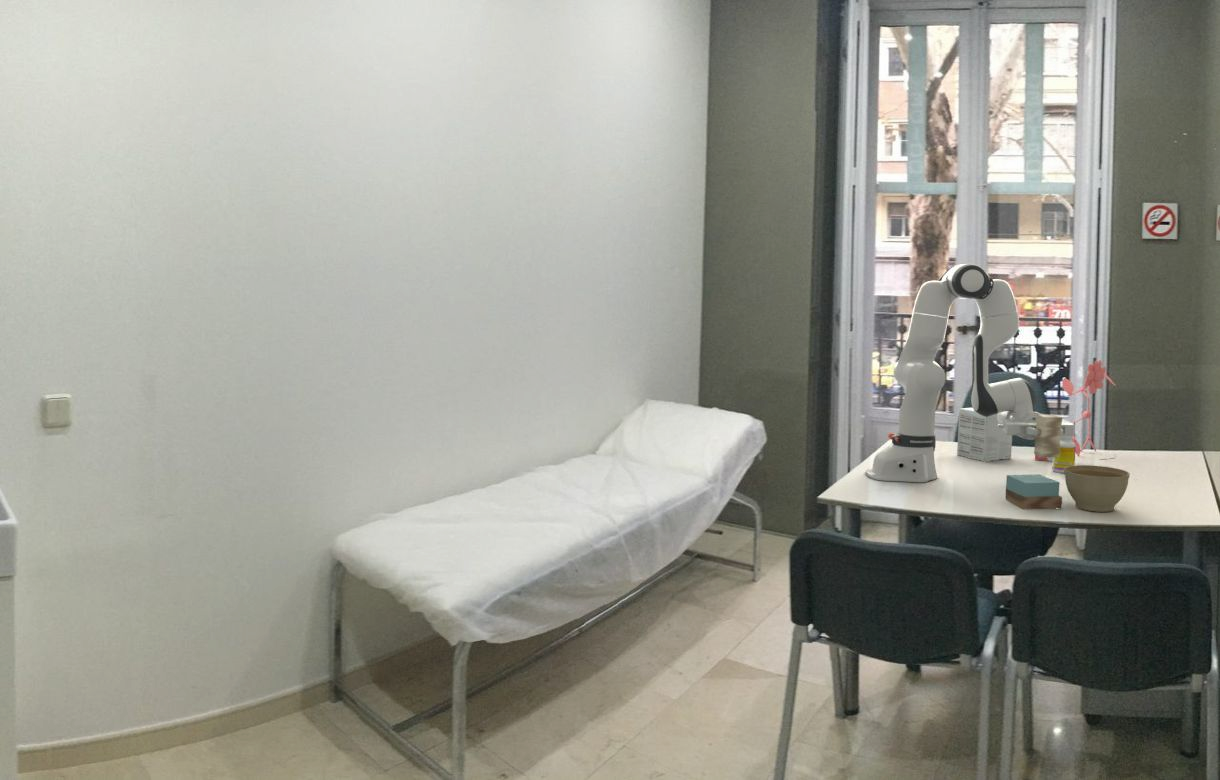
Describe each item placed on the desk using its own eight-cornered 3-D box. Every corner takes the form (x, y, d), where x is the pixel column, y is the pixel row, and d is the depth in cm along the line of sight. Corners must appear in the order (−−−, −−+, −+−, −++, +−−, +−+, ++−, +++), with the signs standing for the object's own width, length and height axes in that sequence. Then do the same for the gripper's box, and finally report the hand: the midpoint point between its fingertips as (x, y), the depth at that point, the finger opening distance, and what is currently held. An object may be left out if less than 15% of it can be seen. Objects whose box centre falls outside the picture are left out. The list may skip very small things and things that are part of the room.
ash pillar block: (1041, 457, 262) (1044, 417, 261) (1034, 453, 267) (1037, 414, 266) (1058, 457, 262) (1062, 417, 261) (1050, 454, 267) (1054, 414, 266)
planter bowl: (1099, 500, 260) (1102, 463, 259) (1140, 514, 245) (1143, 475, 243) (1049, 502, 258) (1052, 465, 257) (1087, 517, 242) (1090, 478, 241)
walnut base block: (1022, 510, 251) (1022, 497, 250) (1005, 501, 261) (1006, 487, 261) (1061, 511, 250) (1062, 497, 250) (1042, 501, 261) (1043, 487, 261)
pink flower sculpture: (1049, 455, 325) (1057, 360, 320) (1091, 448, 338) (1099, 357, 333) (1090, 463, 312) (1099, 364, 307) (1132, 456, 325) (1141, 361, 320)
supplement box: (983, 452, 331) (985, 405, 329) (1011, 458, 319) (1014, 410, 317) (956, 455, 326) (958, 408, 324) (984, 462, 314) (986, 413, 312)
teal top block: (1025, 497, 250) (1026, 483, 250) (1005, 488, 260) (1006, 475, 259) (1058, 496, 251) (1059, 482, 251) (1038, 487, 261) (1039, 474, 260)
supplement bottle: (1076, 474, 294) (1079, 435, 293) (1055, 473, 296) (1057, 435, 294) (1070, 469, 301) (1072, 432, 299) (1049, 469, 302) (1051, 431, 301)
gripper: (995, 414, 276) (1014, 421, 263) (1062, 415, 276) (1084, 422, 262) (994, 434, 277) (1013, 442, 264) (1060, 435, 277) (1083, 444, 263)
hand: (1049, 432), depth 263 cm, fingers closed on ash pillar block, 5 cm apart
